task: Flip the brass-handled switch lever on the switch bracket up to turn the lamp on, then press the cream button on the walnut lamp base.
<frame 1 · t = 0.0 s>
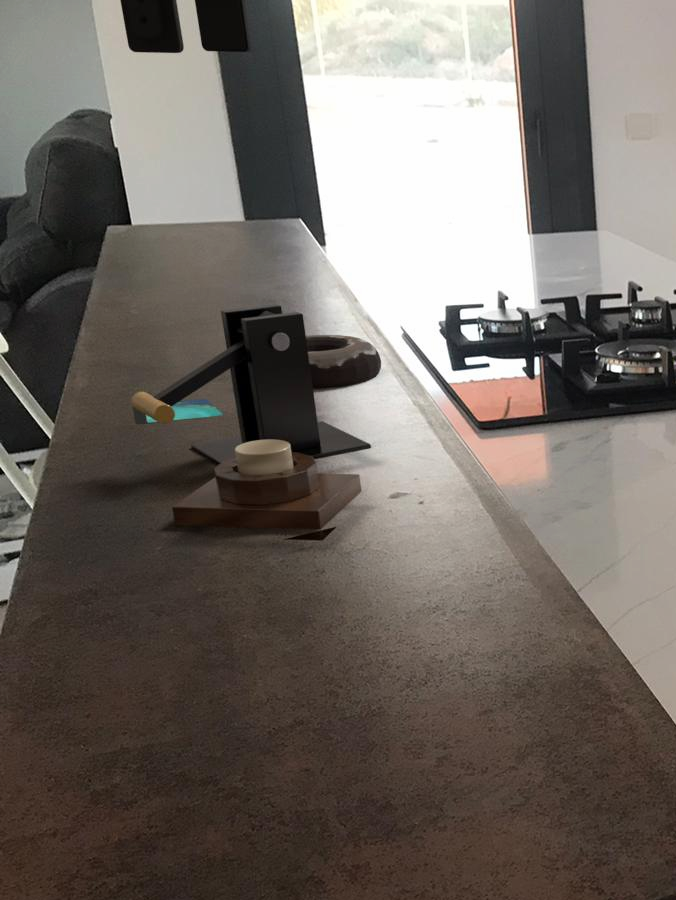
hand: (194, 51, 83), 30 cm above the counter, tool pointing down, fingers open, 9 cm apart
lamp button: (264, 458, 89), point 4 cm above the counter, slide at 0.1 cm
donut: (321, 386, 126), on the counter
switch bracket: (283, 458, 104), on the counter
switch lever: (213, 368, 98), point 8 cm above the counter, hinge at -25.0°
lamp base: (273, 519, 91), on the counter
smartphone: (226, 416, 115), on the counter
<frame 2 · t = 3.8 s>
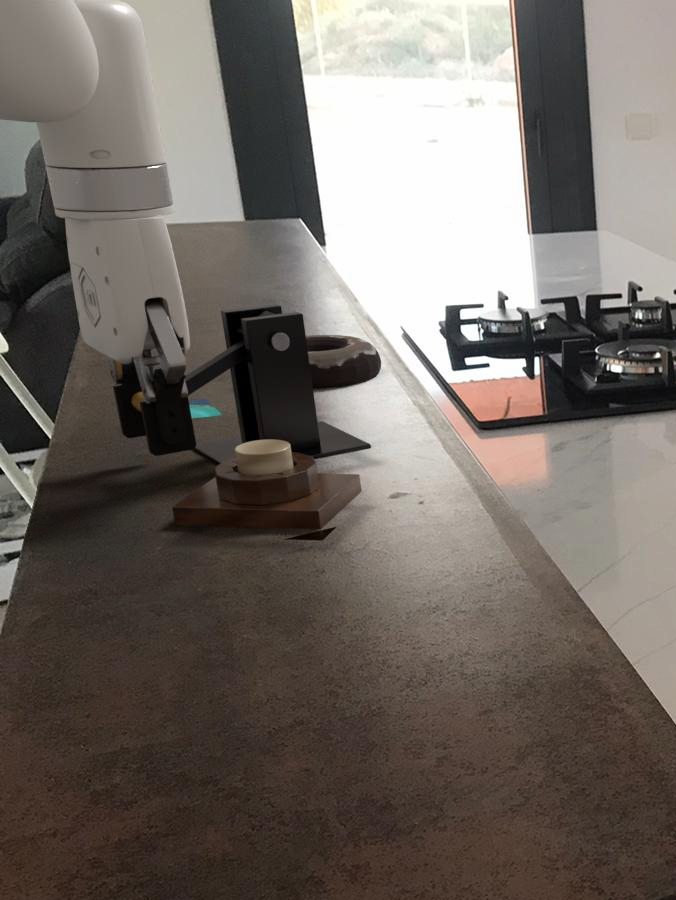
hand: (159, 440, 97), 3 cm above the counter, tool pointing down, fingers closed on switch lever, 5 cm apart
switch lever: (213, 368, 98), point 8 cm above the counter, hinge at -25.0°, touching gripper
everything else where it was.
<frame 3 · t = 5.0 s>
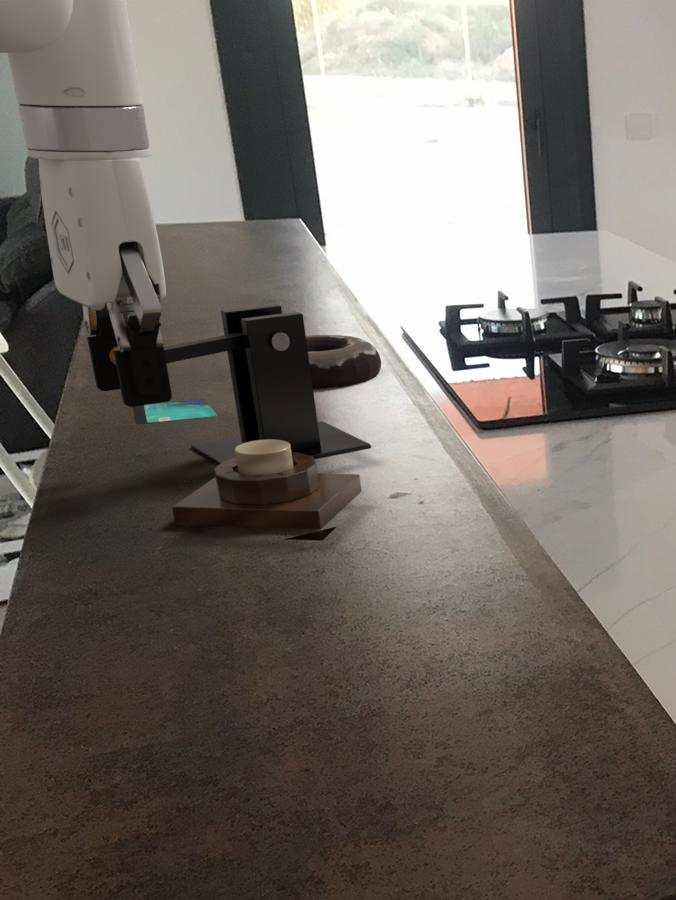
hand: (134, 393, 94), 7 cm above the counter, tool pointing down, fingers closed on switch lever, 5 cm apart
switch lever: (204, 347, 97), point 10 cm above the counter, hinge at -3.7°, touching gripper
everything else where it was.
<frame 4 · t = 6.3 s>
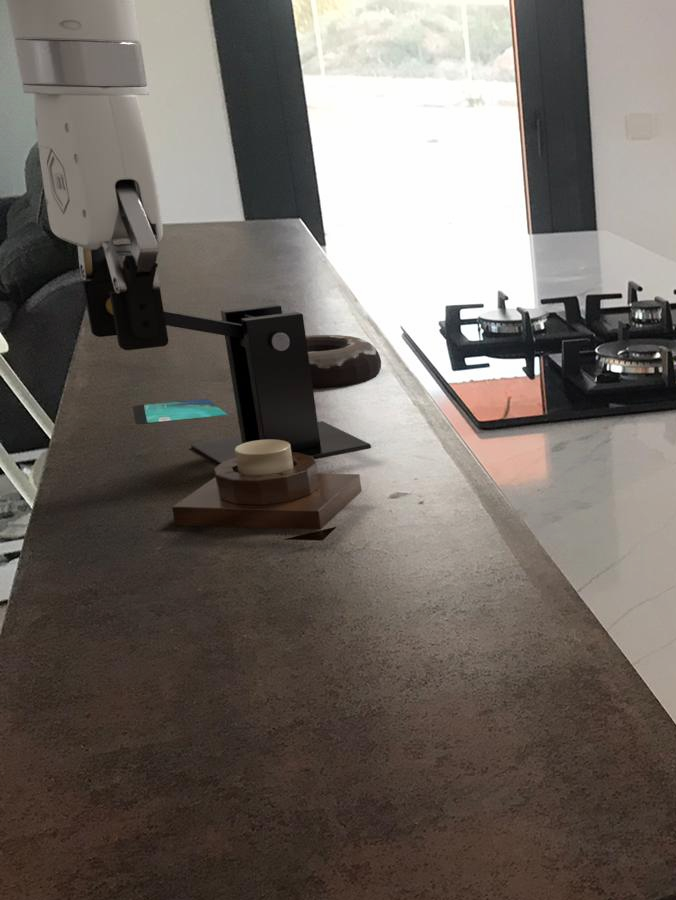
hand: (129, 338, 93), 11 cm above the counter, tool pointing down, fingers open, 5 cm apart
switch lever: (203, 324, 96), point 11 cm above the counter, hinge at 17.5°
everything else where it was.
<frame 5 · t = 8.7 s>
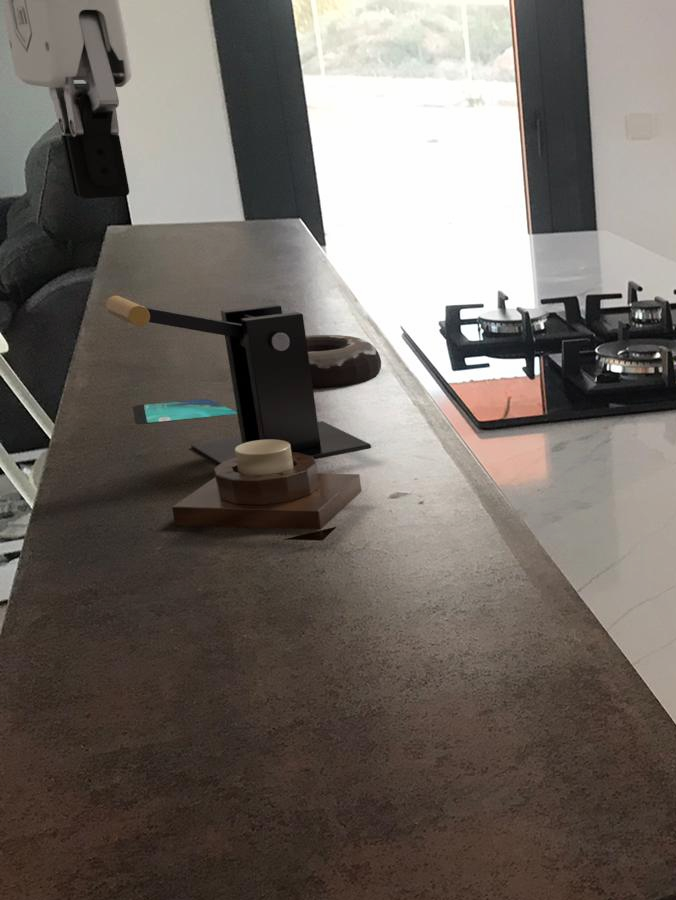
hand: (101, 195, 89), 21 cm above the counter, tool pointing down, fingers closed
nothing on the counter moved.
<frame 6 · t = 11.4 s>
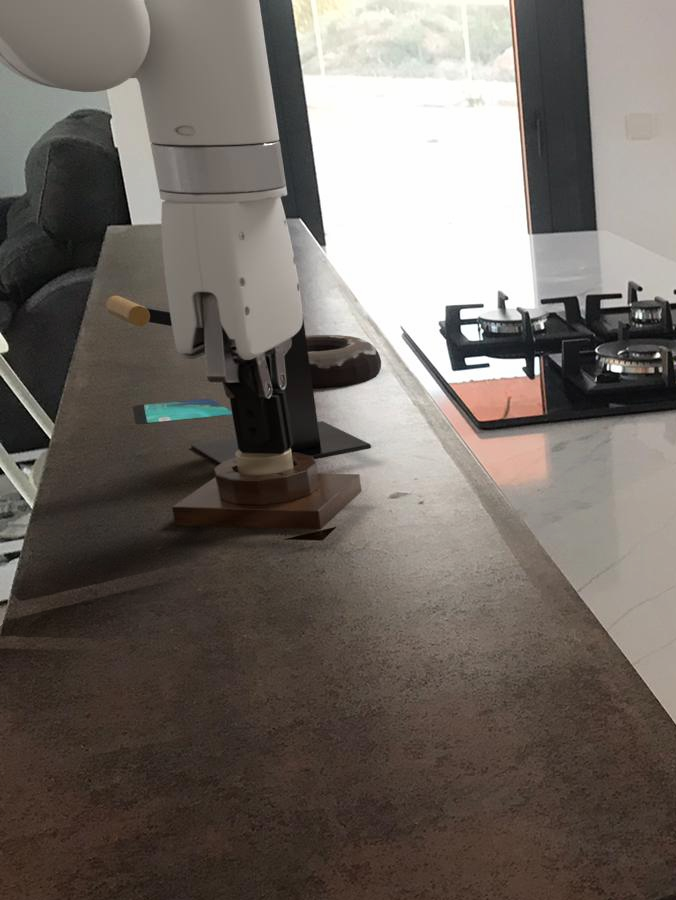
hand: (266, 449, 89), 5 cm above the counter, tool pointing down, fingers closed
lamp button: (265, 462, 89), point 4 cm above the counter, slide at -0.2 cm, touching gripper
everything else where it was.
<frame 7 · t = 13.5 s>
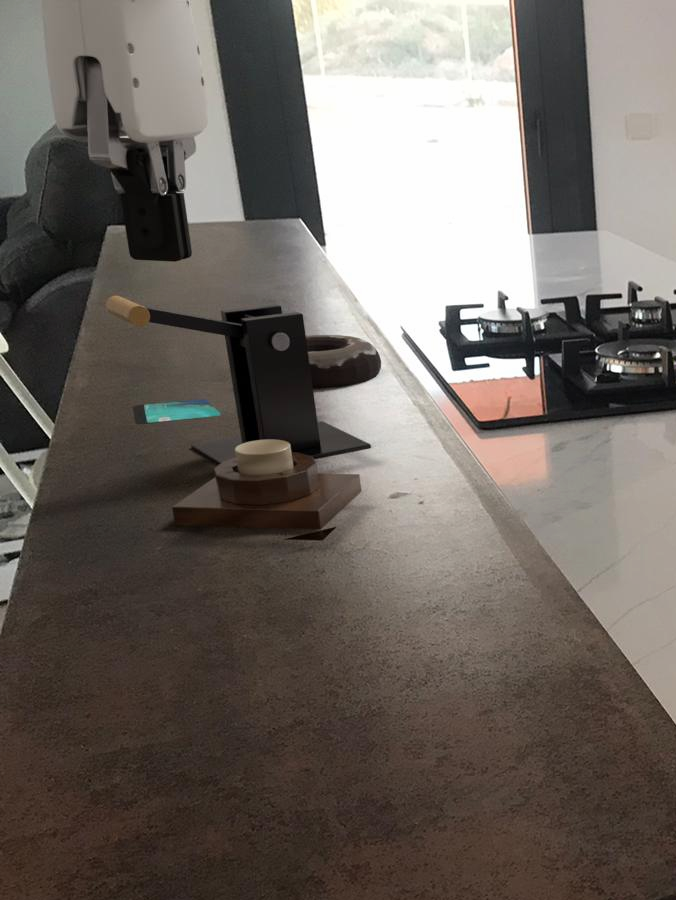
hand: (161, 258, 81), 18 cm above the counter, tool pointing down, fingers closed
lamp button: (264, 458, 89), point 4 cm above the counter, slide at 0.1 cm
everything else where it was.
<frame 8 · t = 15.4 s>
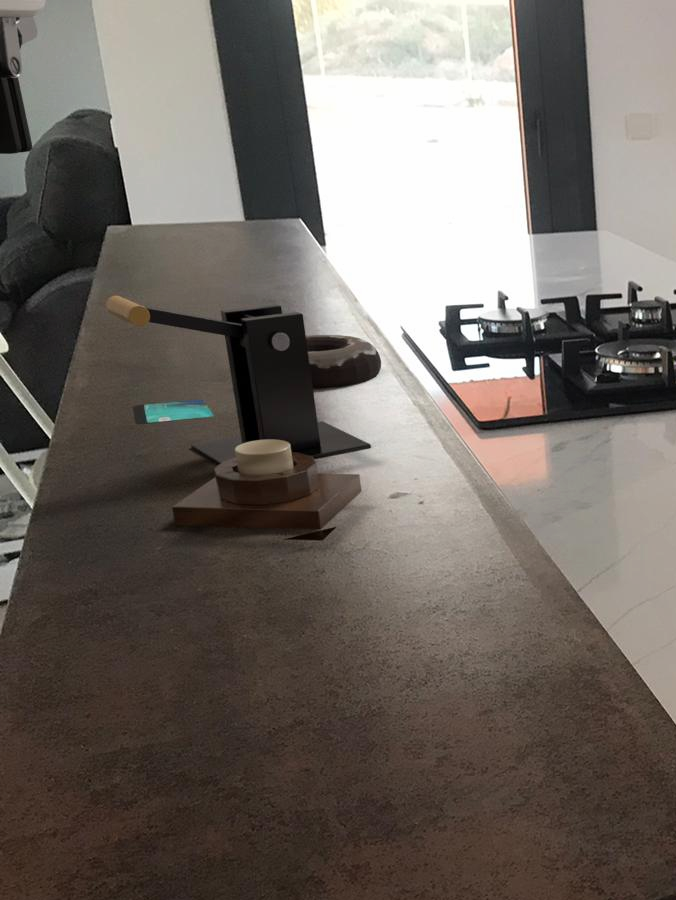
nothing on the counter moved.
at the end: switch lever at +18° (first picture: -25°); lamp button pushed in 1.1 cm at the most during the clip, back to where it started at the end; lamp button slide at 0.1 cm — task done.
